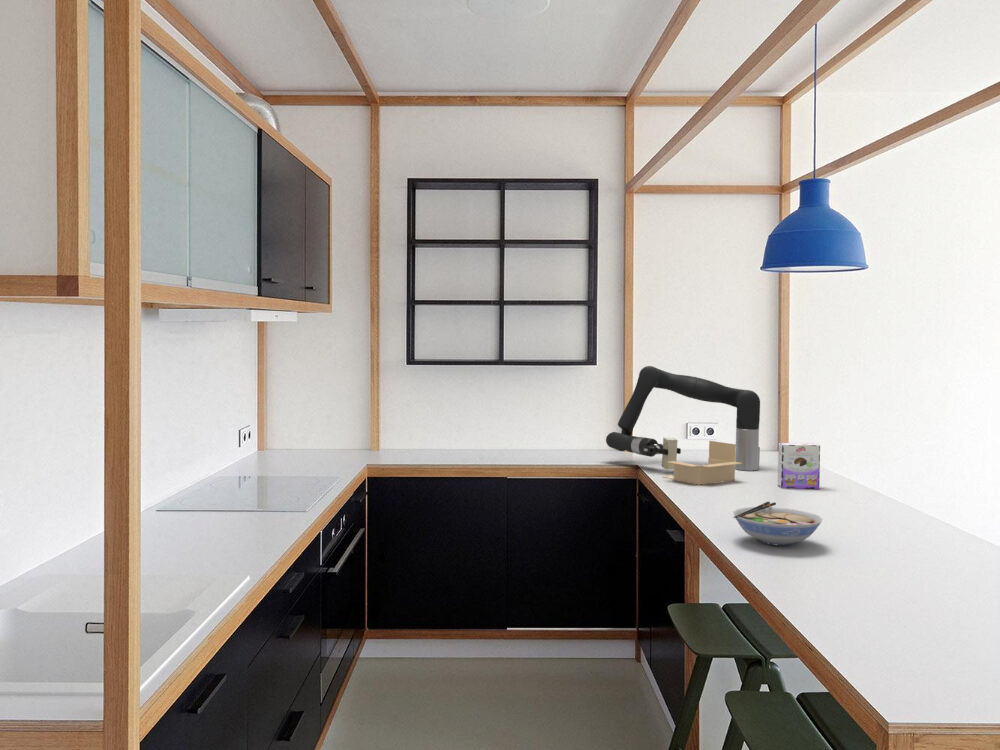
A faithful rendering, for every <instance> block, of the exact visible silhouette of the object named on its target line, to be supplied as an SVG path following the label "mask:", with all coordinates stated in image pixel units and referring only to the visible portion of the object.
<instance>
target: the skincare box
mask: <svg viewBox="0 0 1000 750" xmlns="http://www.w3.org/2000/svg"><path fill="white" fill-rule="evenodd" d="M662 444H663V449H668V455H663V454H661V455H662V457H661V459H662V460H661V467H662V468H663V469H665V470H674V464H671V463H667V462H670V461H676V462H677V457H678V456H677V455H678V454H677V448H678V439H677V438H675V437H663V438H662Z"/></svg>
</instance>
